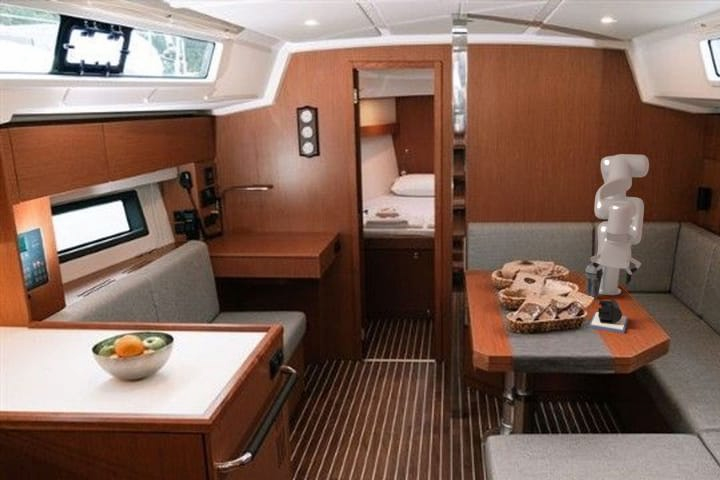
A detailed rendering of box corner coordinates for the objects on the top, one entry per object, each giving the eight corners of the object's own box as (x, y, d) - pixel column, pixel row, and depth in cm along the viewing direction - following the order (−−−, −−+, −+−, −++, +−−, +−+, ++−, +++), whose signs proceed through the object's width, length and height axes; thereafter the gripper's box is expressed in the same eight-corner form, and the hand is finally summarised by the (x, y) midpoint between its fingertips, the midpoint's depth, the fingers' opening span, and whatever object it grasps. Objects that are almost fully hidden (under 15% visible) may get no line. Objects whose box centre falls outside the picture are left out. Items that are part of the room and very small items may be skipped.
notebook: (594, 314, 230) (595, 311, 230) (628, 319, 224) (628, 316, 224) (588, 327, 216) (589, 324, 216) (624, 333, 210) (624, 330, 210)
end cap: (621, 325, 214) (622, 308, 213) (600, 323, 216) (602, 306, 215) (617, 316, 224) (619, 299, 222) (597, 314, 226) (599, 298, 224)
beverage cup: (578, 296, 251) (583, 251, 247) (591, 294, 254) (595, 250, 250) (592, 301, 245) (596, 255, 240) (604, 299, 248) (609, 253, 243)
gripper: (644, 237, 212) (639, 282, 216) (594, 232, 220) (589, 275, 224) (643, 242, 206) (637, 288, 210) (591, 236, 214) (586, 281, 218)
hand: (613, 281), depth 217 cm, fingers open, 9 cm apart
